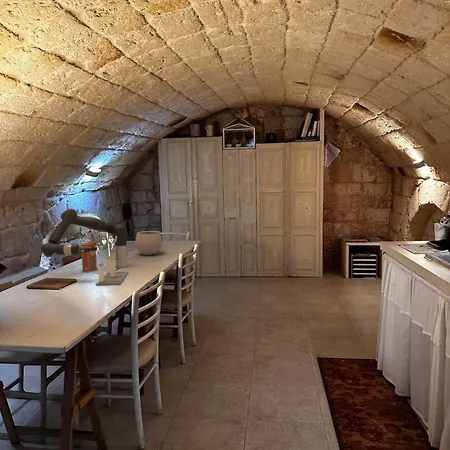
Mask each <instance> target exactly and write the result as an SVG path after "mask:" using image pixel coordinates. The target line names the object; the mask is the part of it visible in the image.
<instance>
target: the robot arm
mask: <svg viewBox="0 0 450 450" xmlns="http://www.w3.org/2000/svg"><path fill="white" fill-rule="evenodd" d="M60 219H61V221H60V223H59V224H58V225H57V227H55V229H54V230H53V232H51V234H50V236H49V238H48V241H47V242H46V243H43V244H42V245H41V246H40V250H41V253H42V254H43V255H44V257H45V258H51V257H52V256H53V255H54V254H56V255H58V256H79V255H80V253H81V254H82V253H83V252H90V251H96V252H97V251H98V247H97V246H96V247H89V246H82V247H81V246H80V244H78V243H73V244H72V243H71V244H70V243H68V244H59V242H60V241H61V239H62V238H63V236H64V235H65V233H66V232H67V229H68V228H69V227H70V226H71V225H74V226H75V225H76V226H79V227H82V228H86V229H89V230H93V231H97V232H102V233H108V234H110V235H113V236H115V237H116V240H115V241H114V258H115V268H118V269H119V268H121V269H122V268H127V267H128V266H129V262H128V261H129V259H128V249H127V243H128V230H127V227H126V226H124V225H120V224H113V223H109V222H106V221H105V220H103V219H101V218H97V217H93V216H81V215H79V214H78V212H77V210H76V209H74V208H68V209H66V210H65V211H63V212H62V213H61V214H60Z"/></svg>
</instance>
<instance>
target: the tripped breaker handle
mask: <svg viewBox="0 0 450 450" xmlns="http://www.w3.org/2000/svg"><path fill="white" fill-rule="evenodd" d="M115 272H116V264H115V259H112V258H111V260H110V278H111V277H115Z"/></svg>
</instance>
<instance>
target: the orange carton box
mask: <svg viewBox="0 0 450 450" xmlns="http://www.w3.org/2000/svg"><path fill="white" fill-rule="evenodd" d="M96 243H97V242H96V241H88V242H85V243H81V246H80V247H82V246H89V247H97V246H96ZM97 260H98V259H97V251H90V252H83V253H81V264H82V266H81V267H82V272H83V273H89V272H93V271H94V270H95V271H96V270H98V263H97Z"/></svg>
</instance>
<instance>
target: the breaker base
mask: <svg viewBox="0 0 450 450" xmlns="http://www.w3.org/2000/svg"><path fill="white" fill-rule="evenodd" d="M105 259H106V260H105V261H106V262H105V263H106V272H105V271H104V270H105V269H104V268H105V266H104V265H105V264H104V262H102V263H101V262H99V263H98V264H97V271H98V280H97V282H95V286H97V287H98V286H99V287H101V286H121V285H122V283H123V281H125V279H126V278H127V276H128V275H129V271H125V270H124V271H121V270H120V271H115V277H111V278H110V260H112V256H111V255H110V256H109V255H108V256H106V257H105Z"/></svg>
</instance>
